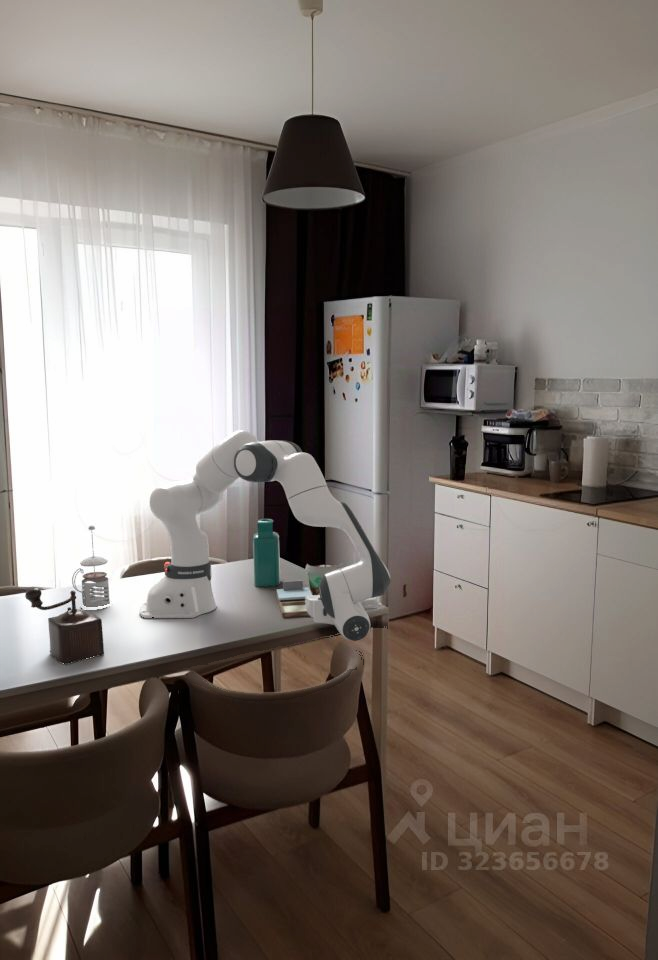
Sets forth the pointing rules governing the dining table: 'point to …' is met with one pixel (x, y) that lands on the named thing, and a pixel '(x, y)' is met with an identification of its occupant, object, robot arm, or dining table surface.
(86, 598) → the french press
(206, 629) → the dining table surface
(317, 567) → the food container
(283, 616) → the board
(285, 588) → the cover
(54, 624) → the manual coffee grinder
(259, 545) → the green bottle
